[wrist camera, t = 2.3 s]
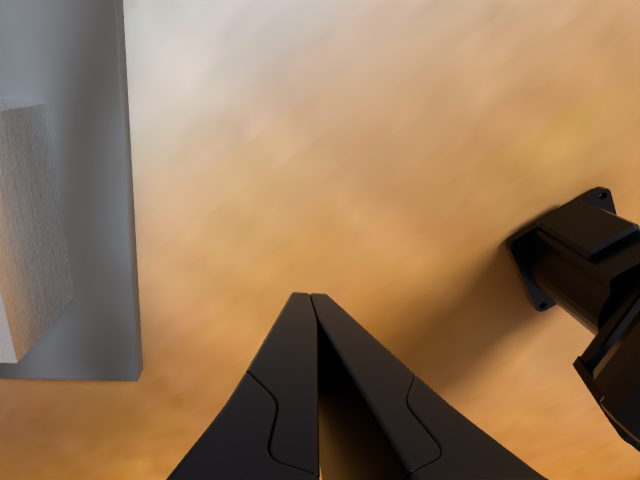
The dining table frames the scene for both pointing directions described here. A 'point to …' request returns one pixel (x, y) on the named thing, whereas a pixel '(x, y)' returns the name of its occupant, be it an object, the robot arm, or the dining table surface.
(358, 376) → the robot arm
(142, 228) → the dining table surface
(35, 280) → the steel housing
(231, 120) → the dining table surface
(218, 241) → the dining table surface
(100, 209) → the slate board
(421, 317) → the dining table surface
